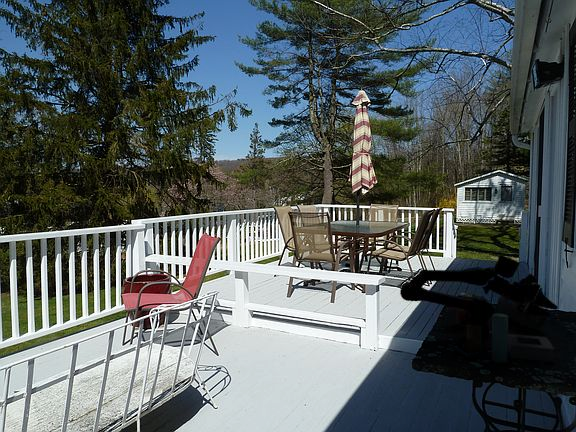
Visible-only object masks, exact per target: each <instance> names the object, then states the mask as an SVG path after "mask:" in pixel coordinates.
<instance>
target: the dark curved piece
mask: <svg viewBox="0 0 576 432" xmlns="http://www.w3.org/2000/svg"><path fill="white" fill-rule="evenodd" d="M516 306H517V303H515V302H513V301H511V300H509V299H508V300H505V297H503V296H501V295H500V296H499V298H498V299H497V308H498V309H499V310H500V311H501V313H502V314H505V315H507V316H508V318H510V319H511V322H513V323H515V324H517V325H518V326H520V327H522V328H529V329H534V330H535V329H537V330H538V329H542V328H543V327H545V325H546V324H547V321H548V317H543V316H533V315H524V312H523V314H522V315H520V314H518V313H516V311H515V308H516ZM538 307H539V306H538Z"/></svg>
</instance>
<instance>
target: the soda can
mask: <svg viewBox="0 0 576 432" xmlns="http://www.w3.org/2000/svg"><path fill="white" fill-rule="evenodd" d="M472 294H473V295H476V293H475V294H474V293H471V292H470V293H469V292H460V293H458V294H457V295H456V296H458V297H462V298H472ZM468 318H470V316H469V314H468V311H466V310H463V309H459V308H456V324H457V325H458V326H460V327H462V328H466V329H467V325H468Z"/></svg>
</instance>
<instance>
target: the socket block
mask: <svg viewBox="0 0 576 432" xmlns="http://www.w3.org/2000/svg"><path fill="white" fill-rule="evenodd" d="M555 352H556V350H555V348H554V345H552V343H551V341H550V340H549V339H548V337H547V336H538V335H529V334H528V335H527V334H526V335H525V334H514V333H508V355H509V357H510V359H521V360H528V361H529V360H532V361H541V362H549V363H555V356H556V355H555Z"/></svg>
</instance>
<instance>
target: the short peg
mask: <svg viewBox="0 0 576 432" xmlns="http://www.w3.org/2000/svg"><path fill="white" fill-rule="evenodd" d="M467 350H468V351H467ZM466 351H467V352H469V351H470V352H469V353H473V352H480V353H482V340H481V326H479V325H473V324H470V325H467V328H466Z"/></svg>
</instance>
